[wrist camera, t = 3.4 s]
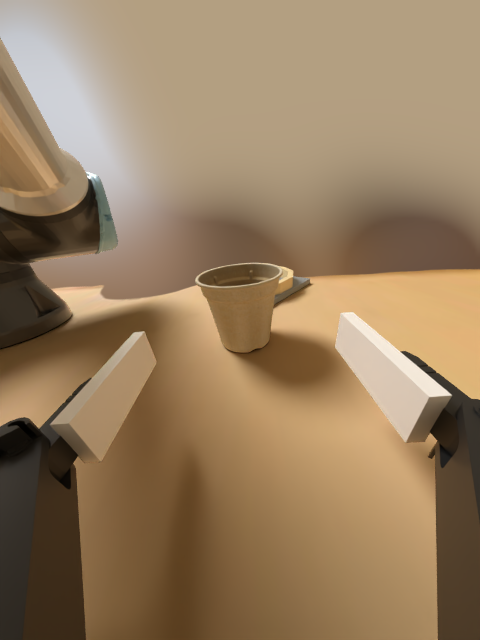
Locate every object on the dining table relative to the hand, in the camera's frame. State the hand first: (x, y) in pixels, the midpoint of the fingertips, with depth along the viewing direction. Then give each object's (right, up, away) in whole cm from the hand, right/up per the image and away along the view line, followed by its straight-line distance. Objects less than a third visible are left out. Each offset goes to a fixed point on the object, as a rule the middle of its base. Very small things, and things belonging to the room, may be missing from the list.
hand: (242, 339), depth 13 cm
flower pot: (+1, -1, +12) cm, 12 cm away
